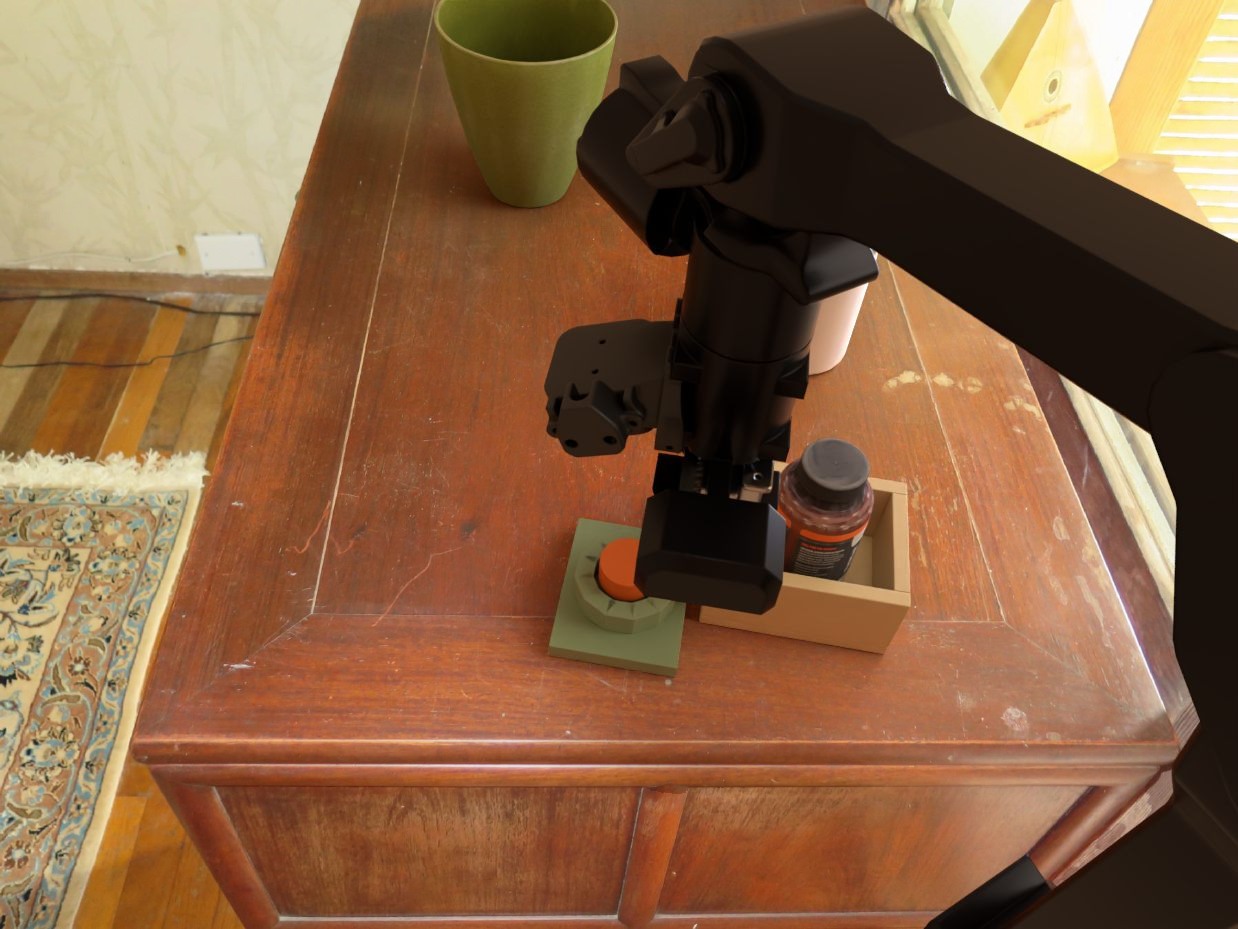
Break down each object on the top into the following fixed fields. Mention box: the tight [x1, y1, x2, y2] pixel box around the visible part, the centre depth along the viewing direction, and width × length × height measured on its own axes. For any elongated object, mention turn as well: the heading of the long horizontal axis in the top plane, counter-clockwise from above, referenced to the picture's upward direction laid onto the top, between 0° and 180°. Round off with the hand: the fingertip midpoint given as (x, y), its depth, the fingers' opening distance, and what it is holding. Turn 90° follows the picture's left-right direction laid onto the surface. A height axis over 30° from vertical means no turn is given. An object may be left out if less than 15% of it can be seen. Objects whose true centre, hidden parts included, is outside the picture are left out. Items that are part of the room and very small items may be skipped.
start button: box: [598, 538, 645, 601], centre depth 62 cm, size 4×4×2 cm
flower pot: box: [433, 0, 619, 209], centre depth 86 cm, size 15×15×16 cm
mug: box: [809, 249, 879, 376], centre depth 77 cm, size 12×8×10 cm, turn 82°
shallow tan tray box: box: [698, 461, 912, 655], centre depth 64 cm, size 10×12×6 cm
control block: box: [547, 517, 687, 678], centre depth 63 cm, size 10×8×3 cm
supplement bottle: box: [777, 437, 874, 582], centre depth 61 cm, size 6×6×11 cm
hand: (703, 533), depth 54 cm, fingers closed
